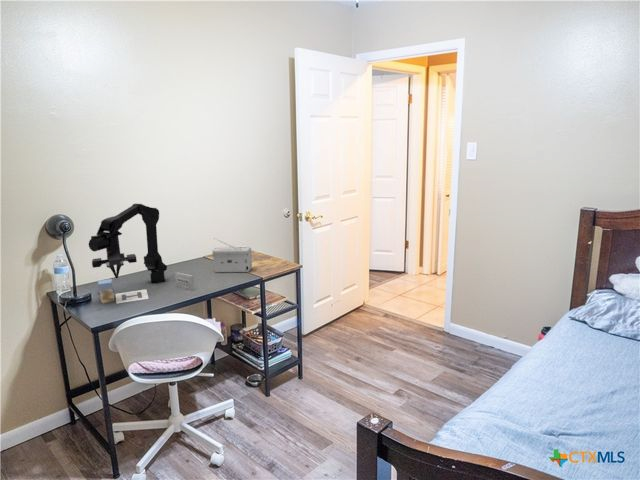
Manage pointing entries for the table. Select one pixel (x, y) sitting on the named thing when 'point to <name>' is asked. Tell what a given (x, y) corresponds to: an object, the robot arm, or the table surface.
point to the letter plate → (131, 296)
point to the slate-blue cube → (105, 285)
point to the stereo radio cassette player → (232, 259)
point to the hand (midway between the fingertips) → (116, 278)
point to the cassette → (183, 284)
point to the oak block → (106, 296)
